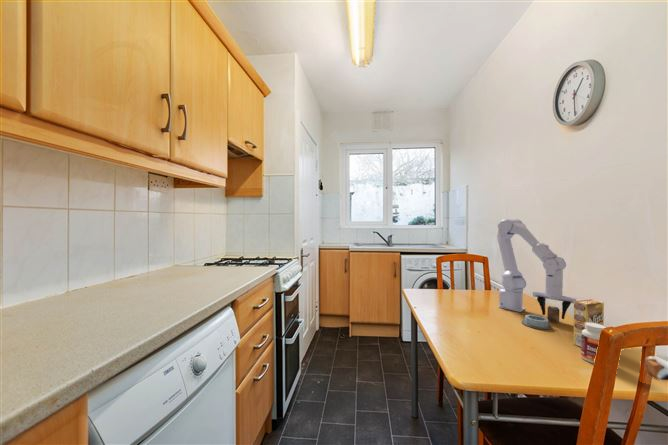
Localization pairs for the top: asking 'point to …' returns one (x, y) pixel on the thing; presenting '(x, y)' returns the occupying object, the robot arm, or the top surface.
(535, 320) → the collar socket
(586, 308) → the candy box
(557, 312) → the walnut peg
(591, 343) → the pill bottle
